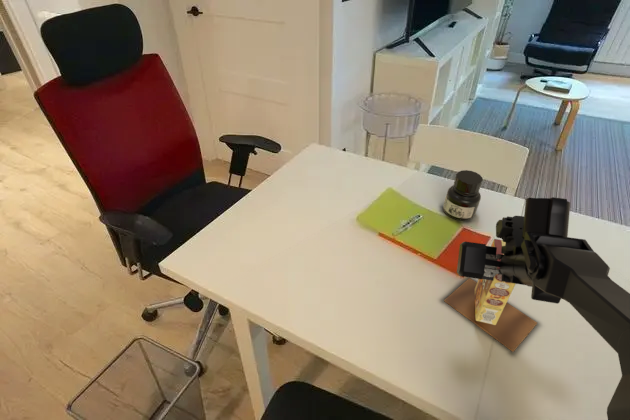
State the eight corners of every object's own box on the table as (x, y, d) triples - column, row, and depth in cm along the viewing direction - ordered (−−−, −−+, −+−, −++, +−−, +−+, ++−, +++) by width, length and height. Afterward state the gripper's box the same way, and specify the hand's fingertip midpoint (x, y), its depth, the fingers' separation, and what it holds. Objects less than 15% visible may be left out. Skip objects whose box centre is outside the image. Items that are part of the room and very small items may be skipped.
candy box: (496, 326, 75) (522, 274, 65) (474, 321, 76) (496, 269, 66) (493, 293, 82) (516, 241, 72) (472, 288, 83) (493, 237, 73)
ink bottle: (435, 211, 107) (444, 176, 100) (450, 198, 112) (459, 164, 105) (467, 226, 102) (480, 191, 95) (481, 211, 107) (494, 177, 100)
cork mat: (536, 323, 78) (537, 322, 78) (512, 352, 73) (513, 350, 73) (469, 278, 88) (469, 277, 87) (443, 301, 83) (444, 299, 82)
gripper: (603, 224, 57) (554, 232, 72) (475, 208, 60) (454, 218, 75) (598, 298, 56) (549, 289, 71) (467, 277, 59) (448, 273, 74)
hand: (499, 265), depth 73 cm, fingers closed on candy box, 4 cm apart
